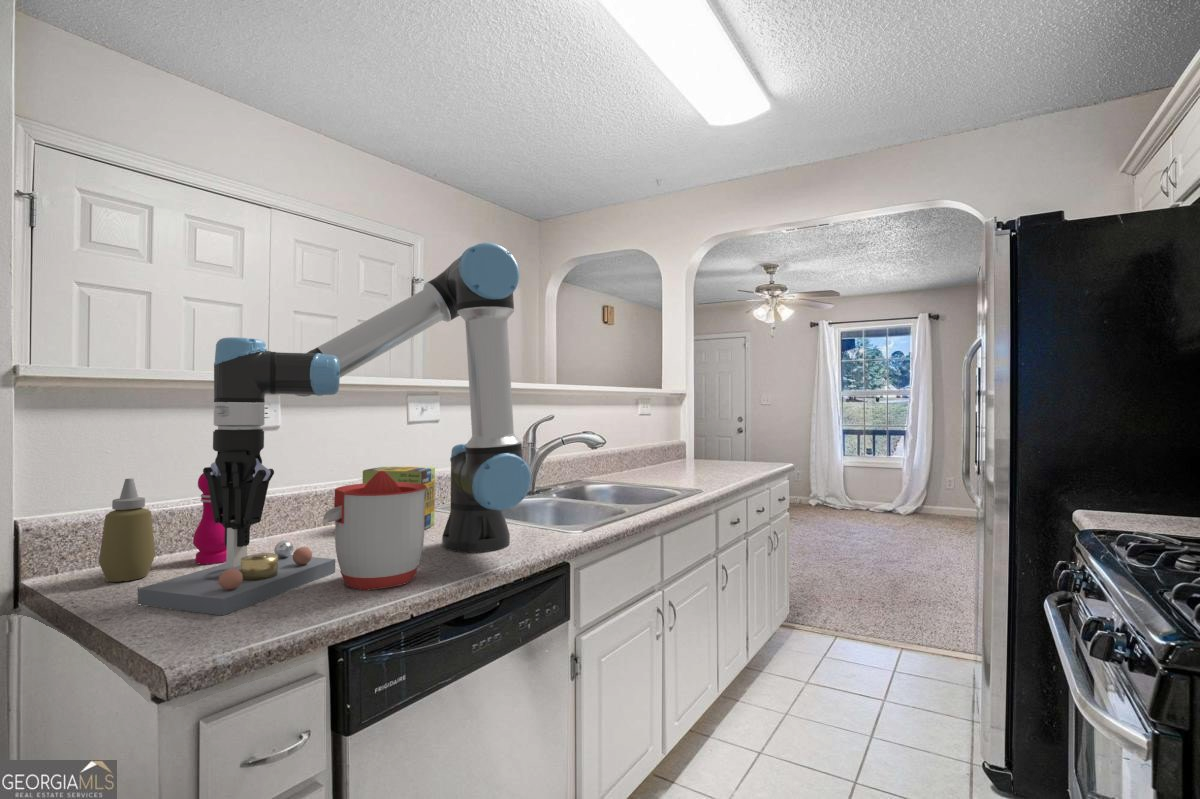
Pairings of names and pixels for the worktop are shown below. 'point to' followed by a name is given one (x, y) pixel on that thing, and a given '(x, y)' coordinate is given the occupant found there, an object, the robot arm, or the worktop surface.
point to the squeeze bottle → (127, 538)
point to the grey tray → (211, 598)
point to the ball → (283, 549)
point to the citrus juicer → (378, 531)
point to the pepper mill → (209, 531)
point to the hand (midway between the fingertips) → (236, 564)
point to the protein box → (412, 476)
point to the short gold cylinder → (259, 566)
